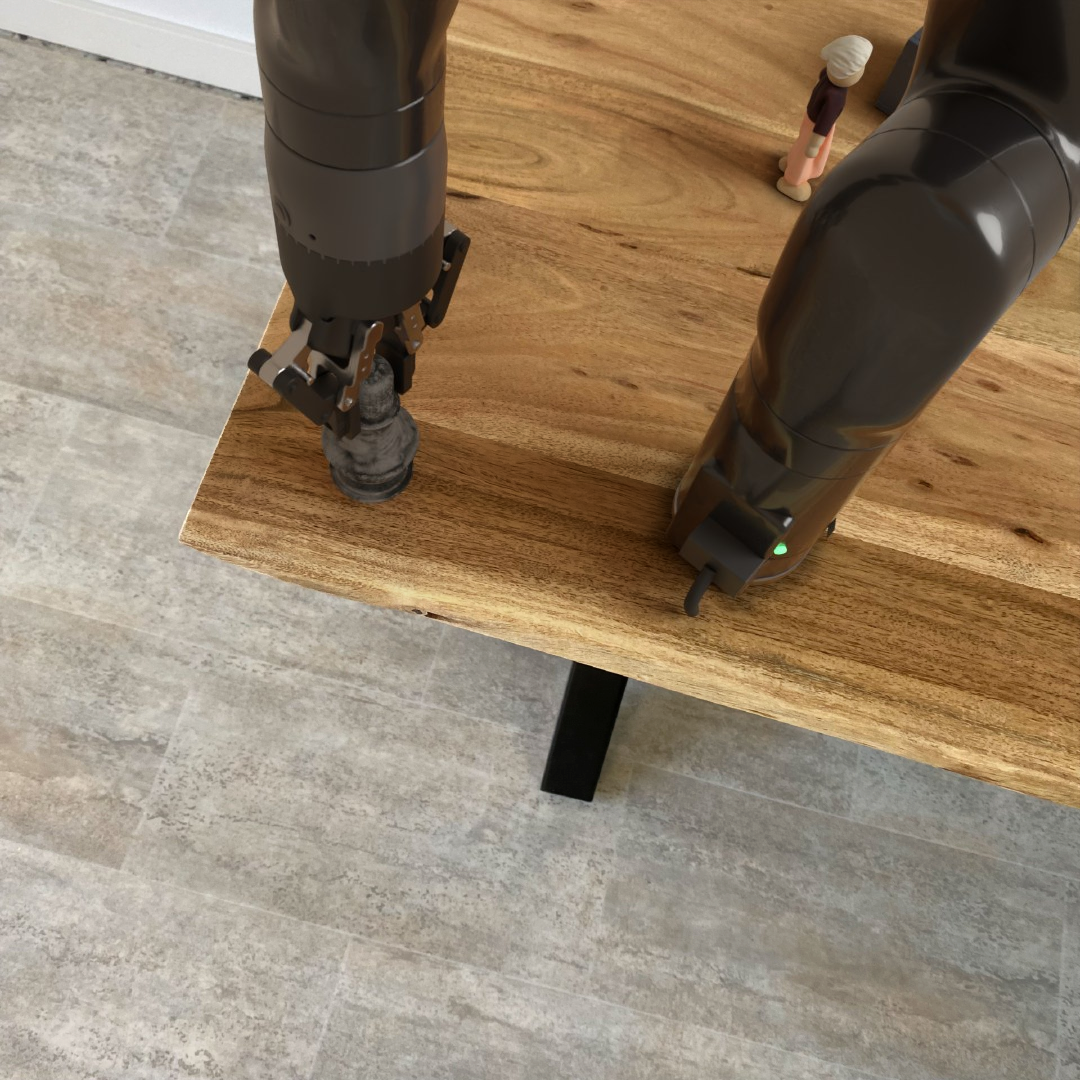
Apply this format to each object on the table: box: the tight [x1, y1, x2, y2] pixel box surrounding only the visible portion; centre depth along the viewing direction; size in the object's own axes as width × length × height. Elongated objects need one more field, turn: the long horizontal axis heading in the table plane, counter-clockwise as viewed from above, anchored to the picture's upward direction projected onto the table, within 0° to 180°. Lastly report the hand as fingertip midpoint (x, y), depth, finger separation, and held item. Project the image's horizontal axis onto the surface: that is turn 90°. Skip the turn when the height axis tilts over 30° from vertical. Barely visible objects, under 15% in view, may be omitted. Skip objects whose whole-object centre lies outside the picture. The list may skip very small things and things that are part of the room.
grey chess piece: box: [320, 353, 420, 504], centre depth 63 cm, size 6×6×12 cm
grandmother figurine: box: [776, 34, 874, 202], centre depth 79 cm, size 8×4×13 cm, turn 179°
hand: (369, 404), depth 62 cm, fingers closed on grey chess piece, 3 cm apart
